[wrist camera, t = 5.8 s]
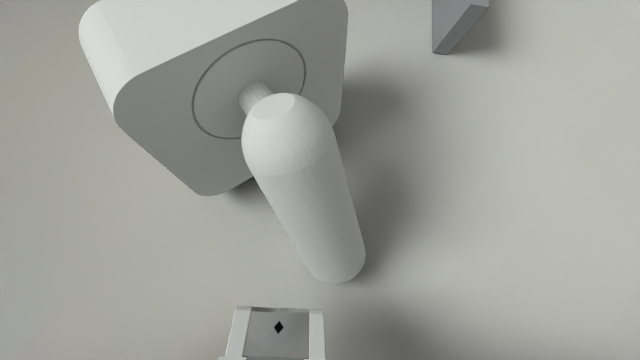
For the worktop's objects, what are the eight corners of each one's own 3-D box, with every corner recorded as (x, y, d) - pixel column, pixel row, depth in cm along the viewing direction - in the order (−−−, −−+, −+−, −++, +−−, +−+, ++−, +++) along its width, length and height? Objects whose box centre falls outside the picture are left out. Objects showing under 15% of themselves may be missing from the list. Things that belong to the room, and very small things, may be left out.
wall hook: (282, 328, 14) (203, 374, 5) (194, 167, 18) (50, 17, 8) (412, 236, 16) (532, 141, 7) (308, 104, 19) (292, -79, 10)
